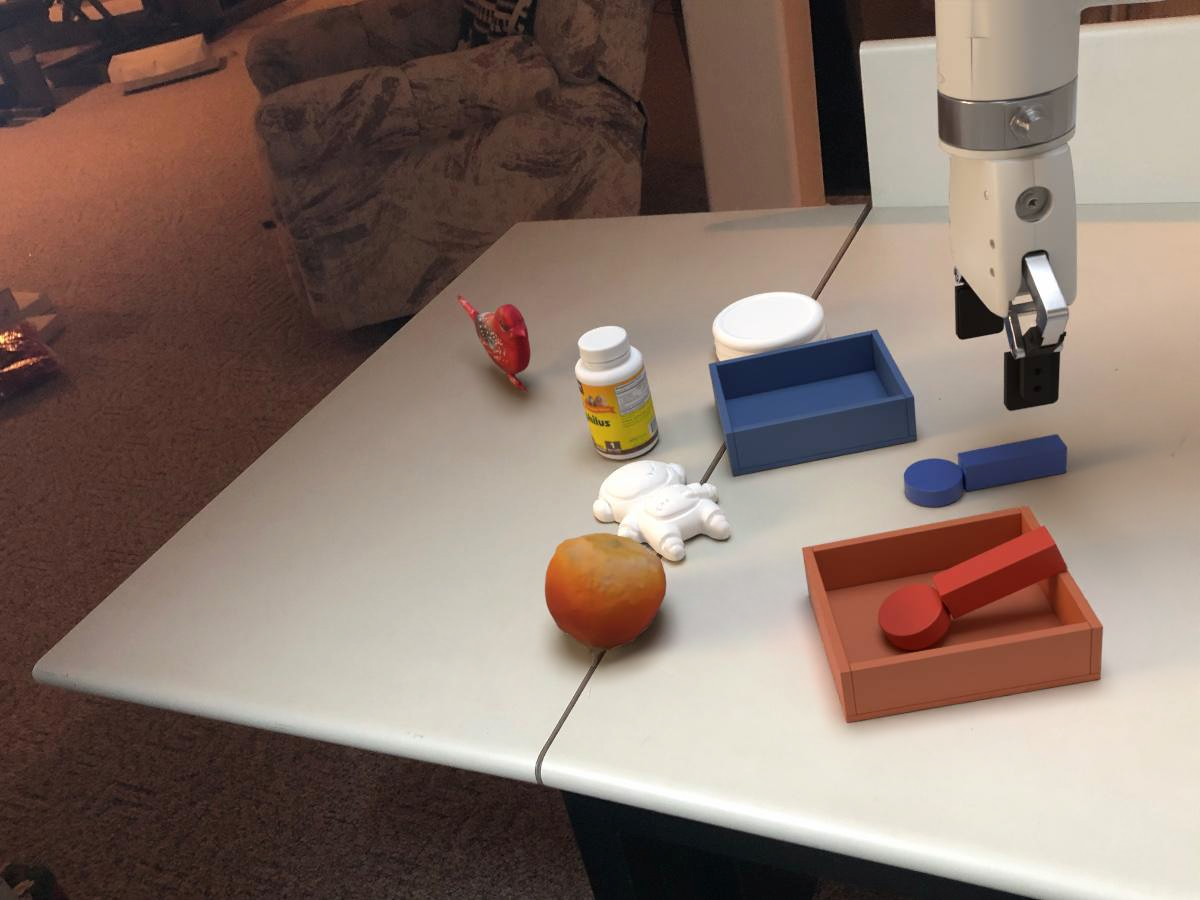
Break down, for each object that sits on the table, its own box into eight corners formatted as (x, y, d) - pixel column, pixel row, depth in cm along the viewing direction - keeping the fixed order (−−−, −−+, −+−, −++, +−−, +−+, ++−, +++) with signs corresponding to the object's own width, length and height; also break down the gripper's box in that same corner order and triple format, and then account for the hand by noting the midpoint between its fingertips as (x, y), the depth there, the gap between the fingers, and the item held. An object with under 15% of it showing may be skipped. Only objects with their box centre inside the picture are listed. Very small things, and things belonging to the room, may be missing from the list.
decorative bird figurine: (533, 417, 98) (504, 320, 92) (462, 353, 112) (433, 265, 106) (560, 404, 99) (533, 307, 93) (486, 343, 113) (459, 255, 107)
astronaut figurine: (642, 580, 76) (634, 547, 74) (581, 499, 85) (572, 468, 84) (752, 531, 78) (746, 498, 76) (679, 457, 87) (672, 426, 86)
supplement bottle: (584, 444, 92) (556, 339, 87) (640, 417, 94) (615, 313, 88) (614, 471, 88) (587, 362, 82) (672, 443, 89) (649, 334, 84)
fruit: (506, 633, 72) (529, 520, 70) (596, 621, 77) (620, 516, 75) (581, 689, 66) (608, 568, 64) (672, 672, 71) (700, 560, 70)
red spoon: (1049, 538, 64) (1036, 513, 63) (1076, 581, 61) (1063, 555, 60) (879, 615, 67) (865, 592, 66) (896, 660, 64) (881, 637, 63)
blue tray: (880, 370, 92) (877, 328, 90) (917, 440, 82) (914, 396, 80) (715, 403, 93) (708, 363, 91) (733, 476, 84) (725, 433, 82)
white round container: (695, 361, 100) (688, 328, 98) (766, 314, 105) (761, 281, 103) (777, 388, 93) (772, 353, 91) (850, 336, 98) (846, 302, 96)
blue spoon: (1051, 450, 78) (1051, 425, 77) (1073, 481, 75) (1074, 455, 73) (898, 479, 79) (896, 455, 78) (913, 512, 76) (911, 486, 74)
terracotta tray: (1027, 554, 70) (1027, 504, 68) (1100, 678, 60) (1103, 626, 58) (808, 594, 71) (801, 547, 69) (846, 723, 62) (840, 673, 59)
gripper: (1139, 144, 55) (1118, 425, 64) (1018, 63, 70) (1014, 302, 79) (990, 173, 56) (990, 448, 65) (901, 87, 70) (911, 321, 79)
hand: (1003, 367), depth 72 cm, fingers open, 9 cm apart
